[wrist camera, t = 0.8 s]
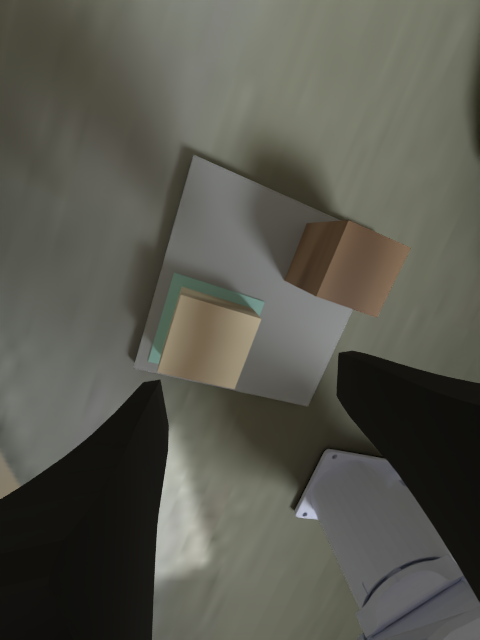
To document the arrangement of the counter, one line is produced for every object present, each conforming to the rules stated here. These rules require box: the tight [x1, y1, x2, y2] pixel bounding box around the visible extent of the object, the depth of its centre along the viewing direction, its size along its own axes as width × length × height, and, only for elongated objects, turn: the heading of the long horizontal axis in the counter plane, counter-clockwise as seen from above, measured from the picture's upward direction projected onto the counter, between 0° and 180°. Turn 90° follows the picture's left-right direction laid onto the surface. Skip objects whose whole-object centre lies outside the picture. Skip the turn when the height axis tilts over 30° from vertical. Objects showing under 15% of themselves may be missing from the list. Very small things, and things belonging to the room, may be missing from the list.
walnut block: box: [284, 220, 411, 317], centre depth 17 cm, size 4×4×5 cm
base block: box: [157, 287, 261, 389], centre depth 18 cm, size 5×5×2 cm
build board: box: [133, 155, 353, 407], centre depth 20 cm, size 14×14×1 cm
